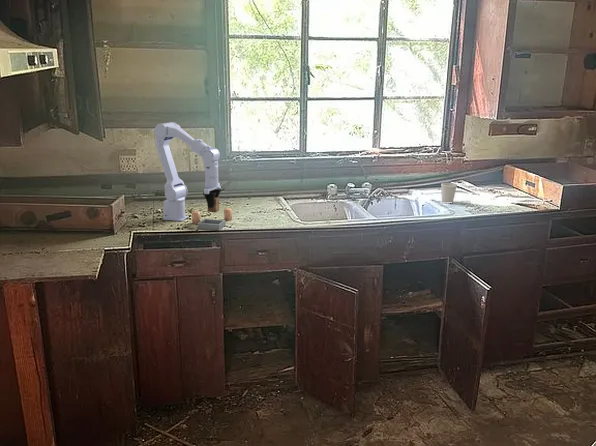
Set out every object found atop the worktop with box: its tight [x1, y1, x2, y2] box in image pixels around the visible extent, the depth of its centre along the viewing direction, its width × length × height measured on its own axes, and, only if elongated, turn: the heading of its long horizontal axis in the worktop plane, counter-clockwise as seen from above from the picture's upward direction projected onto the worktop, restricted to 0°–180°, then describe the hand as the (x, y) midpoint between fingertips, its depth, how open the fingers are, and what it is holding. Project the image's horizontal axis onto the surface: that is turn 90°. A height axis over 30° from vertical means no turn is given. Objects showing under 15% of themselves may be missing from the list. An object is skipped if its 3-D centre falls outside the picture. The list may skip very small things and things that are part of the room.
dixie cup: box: [440, 182, 458, 203], centre depth 302 cm, size 8×8×10 cm
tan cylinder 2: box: [223, 207, 233, 222], centre depth 264 cm, size 4×4×5 cm
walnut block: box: [207, 197, 220, 213], centre depth 254 cm, size 4×4×6 cm
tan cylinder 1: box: [191, 210, 201, 225], centre depth 258 cm, size 4×4×5 cm
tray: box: [197, 218, 226, 231], centre depth 253 cm, size 10×8×2 cm
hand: (212, 206), depth 254 cm, fingers closed on walnut block, 4 cm apart
